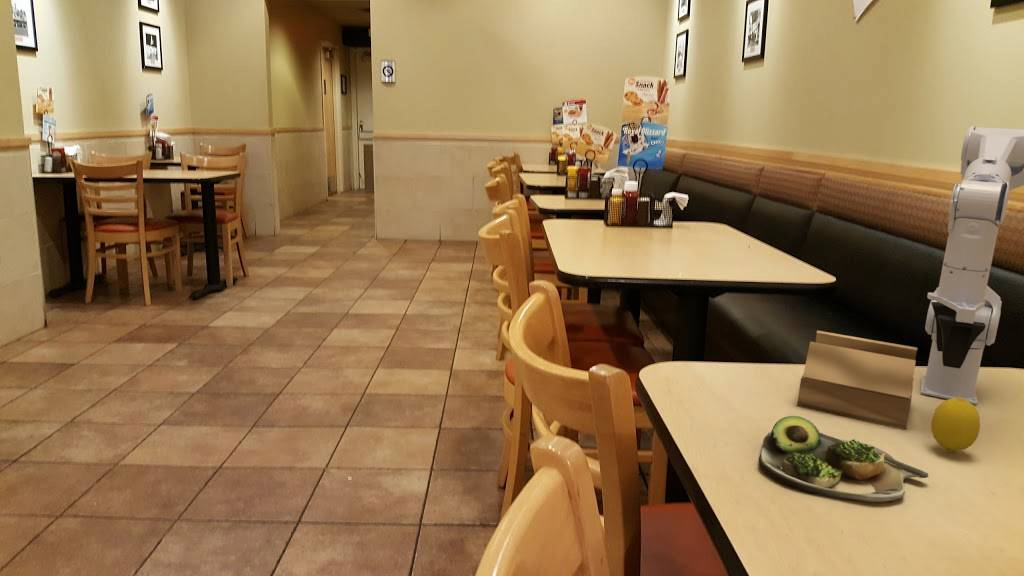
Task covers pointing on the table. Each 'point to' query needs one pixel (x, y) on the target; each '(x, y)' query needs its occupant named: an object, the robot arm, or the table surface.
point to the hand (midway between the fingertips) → (948, 358)
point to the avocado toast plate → (830, 462)
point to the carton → (854, 402)
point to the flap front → (860, 369)
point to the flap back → (866, 345)
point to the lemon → (955, 424)
